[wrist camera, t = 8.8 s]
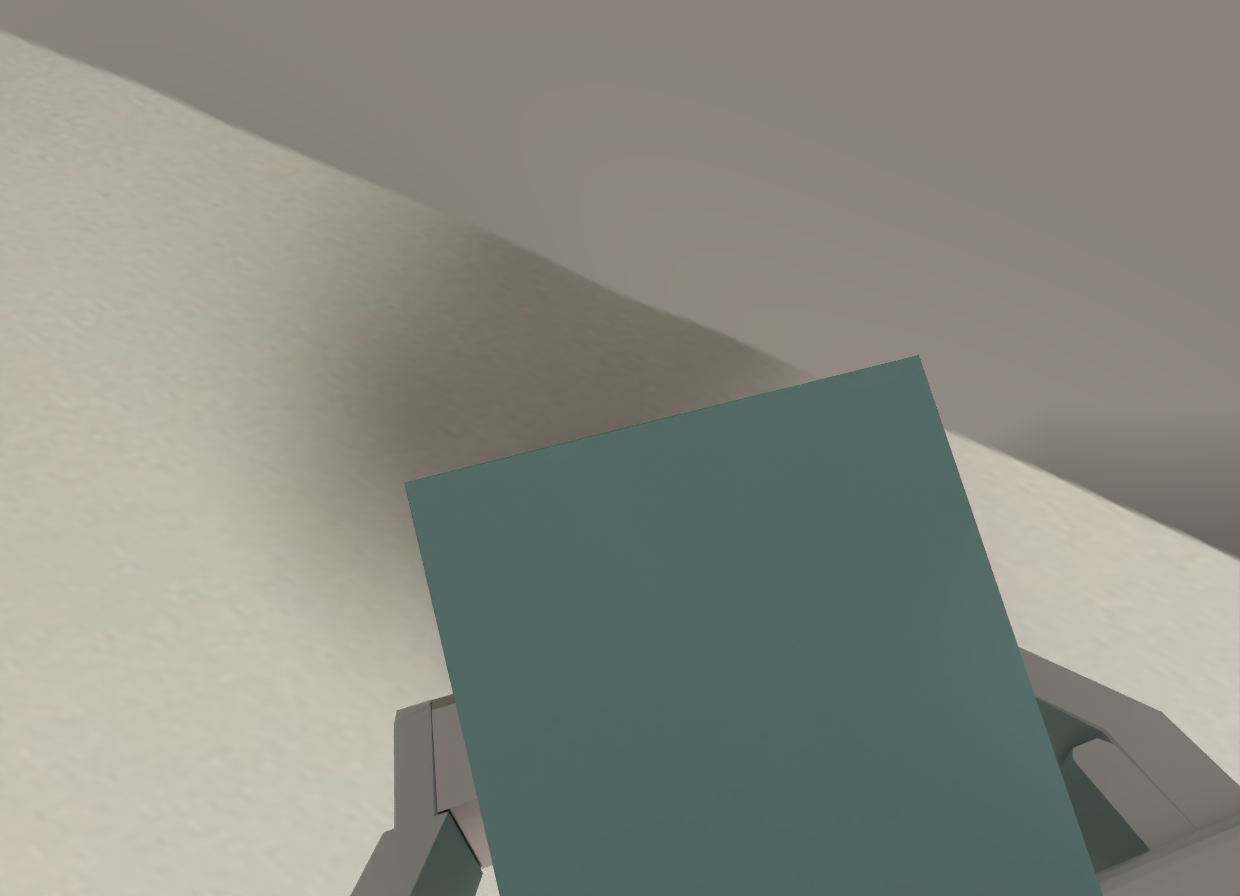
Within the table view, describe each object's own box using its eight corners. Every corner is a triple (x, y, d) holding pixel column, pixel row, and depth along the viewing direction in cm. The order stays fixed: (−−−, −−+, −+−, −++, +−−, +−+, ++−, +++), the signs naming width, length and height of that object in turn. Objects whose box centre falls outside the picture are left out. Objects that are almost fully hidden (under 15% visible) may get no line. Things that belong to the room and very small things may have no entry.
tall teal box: (563, 833, 14) (620, 1413, 5) (488, 528, 15) (404, 483, 6) (769, 761, 15) (1182, 1129, 6) (687, 476, 16) (919, 355, 6)
